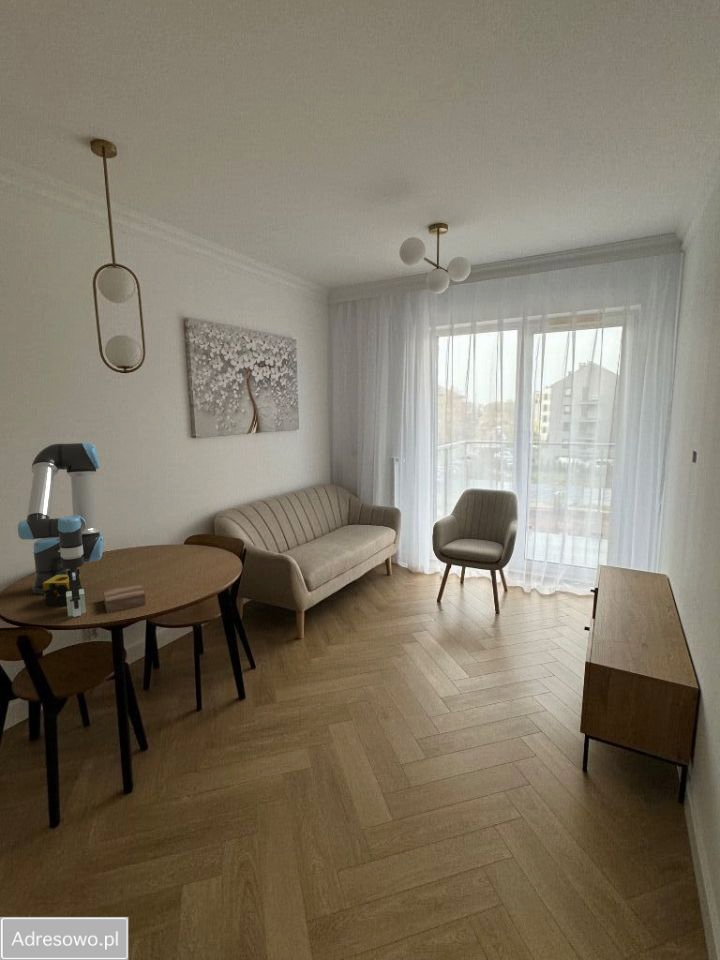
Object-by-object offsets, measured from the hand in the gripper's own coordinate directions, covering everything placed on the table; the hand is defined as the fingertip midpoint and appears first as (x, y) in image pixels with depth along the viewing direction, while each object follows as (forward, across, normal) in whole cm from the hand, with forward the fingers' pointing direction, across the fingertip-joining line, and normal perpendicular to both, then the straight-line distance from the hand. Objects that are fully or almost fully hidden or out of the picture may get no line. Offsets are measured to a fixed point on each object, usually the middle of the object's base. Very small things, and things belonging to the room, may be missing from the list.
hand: (76, 611), depth 183 cm
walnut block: (+1, 0, +17) cm, 17 cm away
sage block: (0, 0, 0) cm, 0 cm away
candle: (+1, -15, -4) cm, 16 cm away
